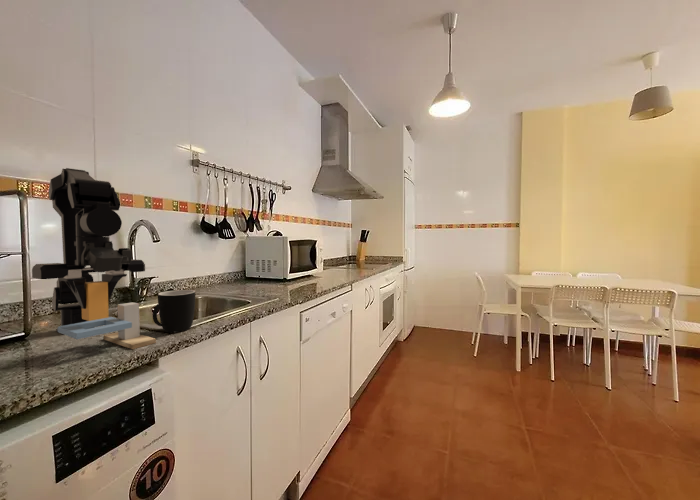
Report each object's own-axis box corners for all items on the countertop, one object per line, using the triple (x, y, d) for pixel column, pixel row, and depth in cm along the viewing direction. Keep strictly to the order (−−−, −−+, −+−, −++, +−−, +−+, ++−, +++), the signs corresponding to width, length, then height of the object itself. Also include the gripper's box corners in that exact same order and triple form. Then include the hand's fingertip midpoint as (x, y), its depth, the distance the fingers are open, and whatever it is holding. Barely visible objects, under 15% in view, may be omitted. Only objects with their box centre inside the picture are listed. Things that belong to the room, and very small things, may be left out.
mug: (177, 324, 91) (176, 289, 91) (203, 326, 89) (202, 290, 89) (139, 336, 80) (138, 296, 80) (168, 338, 78) (167, 298, 77)
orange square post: (81, 318, 69) (80, 282, 69) (101, 315, 72) (100, 280, 72) (89, 321, 68) (88, 284, 67) (108, 317, 71) (107, 282, 70)
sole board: (103, 339, 77) (103, 335, 77) (126, 334, 82) (126, 330, 82) (132, 349, 70) (132, 344, 70) (155, 342, 74) (155, 338, 74)
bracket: (58, 347, 68) (57, 311, 68) (126, 332, 80) (125, 301, 79) (77, 356, 63) (76, 316, 63) (147, 338, 75) (146, 305, 74)
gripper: (50, 236, 57) (53, 321, 58) (156, 237, 73) (158, 303, 74) (29, 236, 63) (32, 313, 63) (132, 237, 79) (134, 298, 79)
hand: (95, 306), depth 70 cm, fingers closed on orange square post, 4 cm apart
